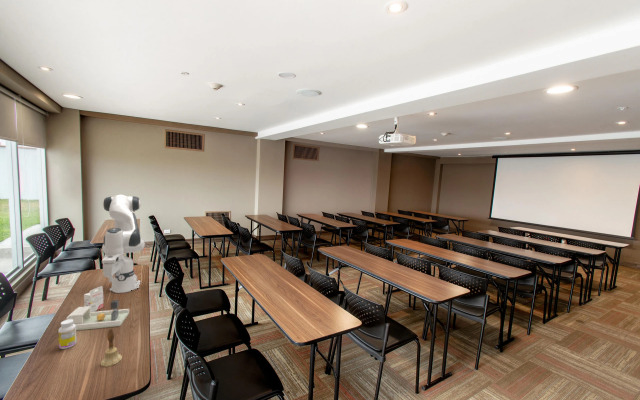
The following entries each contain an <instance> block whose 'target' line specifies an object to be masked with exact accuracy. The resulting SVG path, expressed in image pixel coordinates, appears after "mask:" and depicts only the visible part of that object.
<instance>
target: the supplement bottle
mask: <svg viewBox="0 0 640 400" xmlns="http://www.w3.org/2000/svg"><path fill="white" fill-rule="evenodd" d="M60 326H61V327H59V328H58V333H57V334H58V338H57V339H58V347H59V349H60V350H66V349H69V348H71V347H73V346H75V345H76V344H77V330H76V325H75V324H73V320H72V319H68V320H67V319H64V320H62V321H61V322H60Z"/></svg>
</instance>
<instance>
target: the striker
mask: <svg viewBox="0 0 640 400" xmlns="http://www.w3.org/2000/svg"><path fill="white" fill-rule="evenodd" d="M119 306H120V301H119V299H114V300H113V299H112V301H110V310H113V312H112V313H111V321H112V320H116V319H117V317H118V316H119V312H118V310H119V309H118V308H119Z"/></svg>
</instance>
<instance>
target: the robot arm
mask: <svg viewBox="0 0 640 400" xmlns="http://www.w3.org/2000/svg"><path fill="white" fill-rule="evenodd" d="M141 204H142V202H141V200H140V198H139V197H137V196H130V195H129V196H127V195H125V194H117V195H114V196H108V197H105V198H104V200H103V201H102V208H104V210H105V211H106V212H108V214H109V217H111V218H112V219H113V220H114V227H112V228H108V229H107V230H106V232H105V235H104V236H103V244H102V245H101V246H102V247H101V249H102V252H103V253H104V256H103V258H102V260H101V264H102V273H103V277H105V278H106V277H107V278H108V283H111V287H110V288H109V291H111V292H113V293H114V294H115V293H117V294H123V293H129V292H131V290H132V291H134V290H137V288H138V289H139V288H140V286H139V285H141V280H139V279H138V276H137V275H136V274H135V270H136V269H135V267H134V259H133V258H131V257H128V256H125V254H129V253H130V254H131V253H136V252H140V251H143V249H144V248H145V247H146V244H145V241H144V238H142V235H141V232H140V230H139V225H138V220H137V215H136V214H135V213H134V212H136V211H138V210H140V207H141ZM137 280H138V281H137Z"/></svg>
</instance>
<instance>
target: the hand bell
mask: <svg viewBox="0 0 640 400" xmlns="http://www.w3.org/2000/svg"><path fill="white" fill-rule="evenodd" d="M106 338H107V341H108V348H107V349H106V350H105V353H104V357H103V359H102V360H101V361H100V366H101V367H105V368H106V367H112V366H115V365H116V364H118V363H120V361H122V359H123V356H122V355H121V354H120V353H119V352H118V348H117V347H114V338H115V332H114V330H113V327H109V328H108V331H107V337H106Z"/></svg>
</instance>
